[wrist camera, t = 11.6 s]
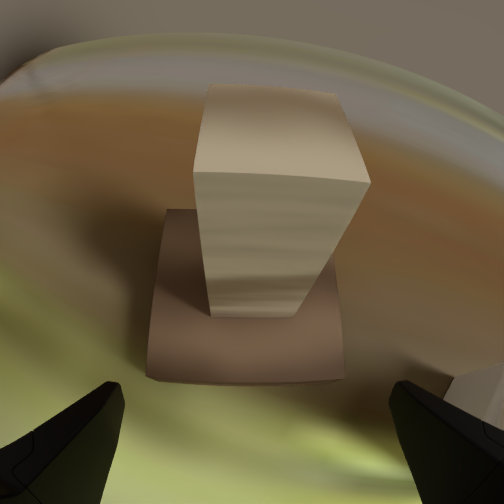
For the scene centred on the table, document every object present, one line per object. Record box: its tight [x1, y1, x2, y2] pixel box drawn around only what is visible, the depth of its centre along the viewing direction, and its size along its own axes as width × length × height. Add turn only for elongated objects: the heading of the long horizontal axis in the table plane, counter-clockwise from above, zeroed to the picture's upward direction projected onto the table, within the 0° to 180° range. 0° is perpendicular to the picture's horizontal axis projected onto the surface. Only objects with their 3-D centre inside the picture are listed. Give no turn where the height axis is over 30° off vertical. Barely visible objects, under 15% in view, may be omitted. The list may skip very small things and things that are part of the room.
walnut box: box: [146, 209, 345, 386], centre depth 21 cm, size 12×12×4 cm
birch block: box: [193, 84, 371, 318], centre depth 14 cm, size 5×5×12 cm
